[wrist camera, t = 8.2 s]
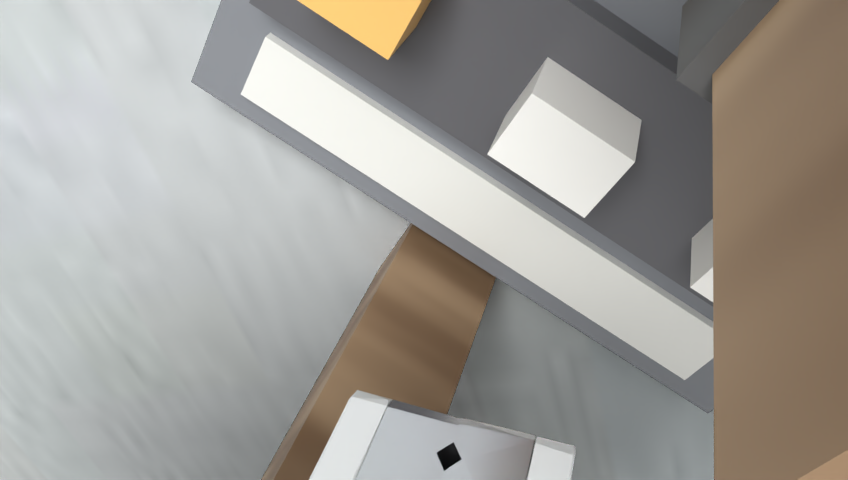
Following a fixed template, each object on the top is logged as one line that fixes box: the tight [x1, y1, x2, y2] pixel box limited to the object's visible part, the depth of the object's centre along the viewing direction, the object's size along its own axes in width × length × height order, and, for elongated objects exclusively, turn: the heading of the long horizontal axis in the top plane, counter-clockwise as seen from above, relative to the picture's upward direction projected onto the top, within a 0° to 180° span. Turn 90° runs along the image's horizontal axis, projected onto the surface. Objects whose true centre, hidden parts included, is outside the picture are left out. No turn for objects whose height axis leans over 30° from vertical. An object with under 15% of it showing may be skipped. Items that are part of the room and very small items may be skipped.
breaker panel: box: [191, 0, 714, 413], centre depth 19 cm, size 12×18×4 cm, turn 61°
